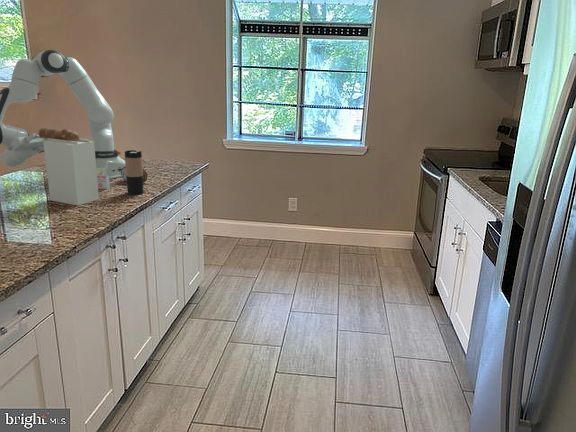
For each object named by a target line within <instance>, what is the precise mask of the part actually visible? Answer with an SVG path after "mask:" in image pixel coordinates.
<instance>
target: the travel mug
mask: <svg viewBox="0 0 576 432" xmlns="http://www.w3.org/2000/svg"><path fill="white" fill-rule="evenodd" d="M124 160H125V166H126V180H127V181H126V188H127V194H128V195H131V196H133V195H134V196H135V195H142V194H144V183H143V169H144V168H143V155H142V150H139V151H137V150H135V149H133V150H131V149H129V150H125V151H124Z"/></svg>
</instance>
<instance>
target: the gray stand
mask: <svg viewBox="0 0 576 432" xmlns="http://www.w3.org/2000/svg"><path fill="white" fill-rule="evenodd" d="M47 140H48V141H43V144H44V152H43V153H44V160H45V167H46V176H47V183H48V184H47V185H48V191H49V192H48V193H49V201H52V202H58V203H63V204H69V205H72V206H81V205H84V204H87V203H91V202H93V201H97V200H99V199H100V195H99V189H98V181H97V170H96V158H95V147H94V142H93V141H92V140H91V139H87V138H79V140H78V141H68V140H60V139H52V138H47Z"/></svg>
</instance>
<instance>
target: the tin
mask: <svg viewBox="0 0 576 432" xmlns="http://www.w3.org/2000/svg"><path fill="white" fill-rule="evenodd" d="M121 176H122V177H121V178H122V179H123V181H125V182H127V180H126V167H123V168H122V169H121ZM147 180H148V173H147V171H146V170H145V169H144V168H143V184H144V183H146V181H147Z"/></svg>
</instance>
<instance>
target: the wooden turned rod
mask: <svg viewBox="0 0 576 432" xmlns="http://www.w3.org/2000/svg"><path fill="white" fill-rule="evenodd" d="M37 135H39V136H40V137H41V138H45V139H47V138H52V139H60V140H68V141H78V140H79V139H80V135H79V133H78V132H76V131H72V130H71V129H69V128H64V129H53V128H45V127H42V128H40V129H39V130H38V134H37Z"/></svg>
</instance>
